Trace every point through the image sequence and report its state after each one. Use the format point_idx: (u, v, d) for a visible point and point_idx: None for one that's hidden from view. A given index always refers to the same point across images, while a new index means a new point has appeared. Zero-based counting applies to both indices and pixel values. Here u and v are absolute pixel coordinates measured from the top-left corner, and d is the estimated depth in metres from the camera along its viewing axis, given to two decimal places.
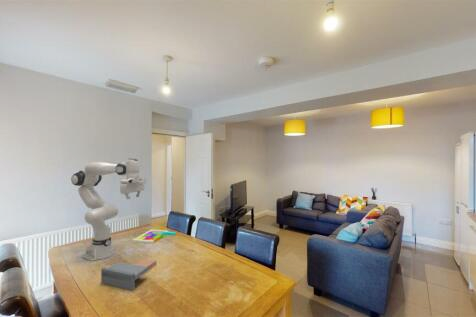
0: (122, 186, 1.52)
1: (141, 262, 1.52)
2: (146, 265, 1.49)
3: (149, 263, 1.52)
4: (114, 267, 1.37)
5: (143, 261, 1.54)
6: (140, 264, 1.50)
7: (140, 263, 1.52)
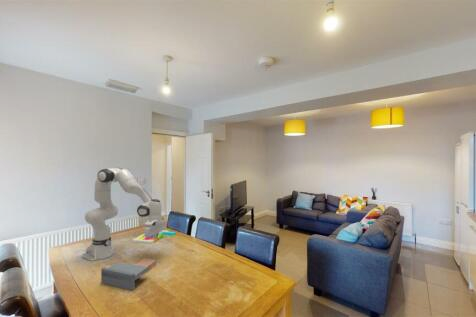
0: (146, 229, 1.54)
1: (141, 262, 1.52)
2: (146, 265, 1.49)
3: (149, 263, 1.52)
4: (114, 267, 1.37)
5: (143, 261, 1.54)
6: (140, 264, 1.50)
7: (140, 263, 1.51)
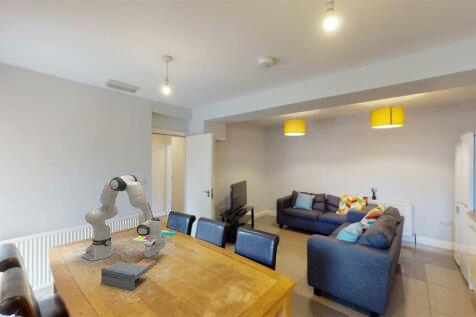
0: (146, 249, 1.54)
1: (141, 262, 1.52)
2: (146, 265, 1.49)
3: (149, 263, 1.52)
4: (114, 267, 1.37)
5: (143, 261, 1.54)
6: (140, 264, 1.50)
7: (140, 263, 1.51)
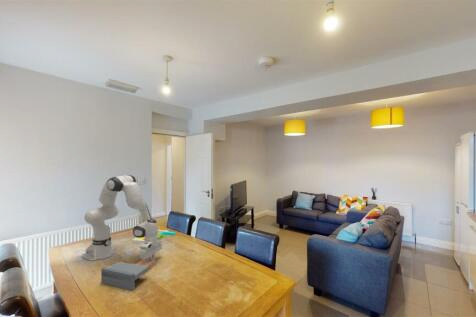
0: (141, 252, 1.50)
1: (140, 263, 1.52)
2: (146, 265, 1.48)
3: (149, 263, 1.51)
4: (114, 267, 1.37)
5: (142, 261, 1.54)
6: (140, 264, 1.49)
7: (139, 263, 1.51)
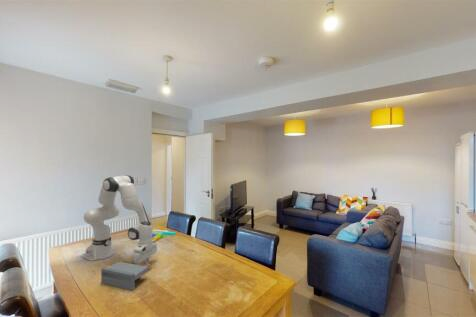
0: (135, 255, 1.44)
1: None
2: None
3: None
4: (114, 267, 1.37)
5: None
6: None
7: None
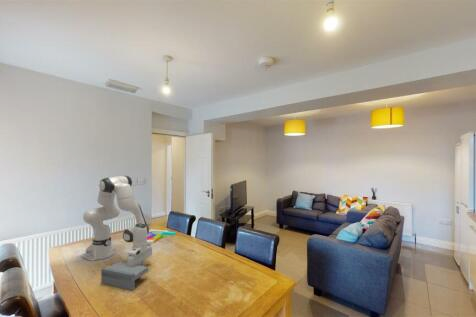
0: (129, 259, 1.39)
1: None
2: None
3: None
4: (114, 267, 1.37)
5: None
6: None
7: None
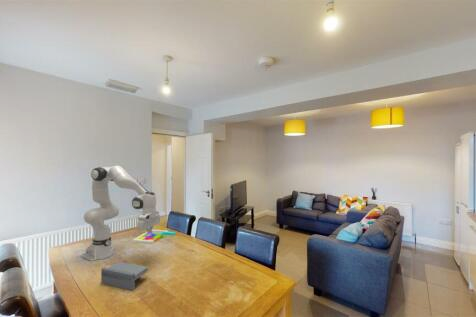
0: (139, 222, 1.48)
1: None
2: None
3: None
4: (114, 267, 1.37)
5: None
6: None
7: None
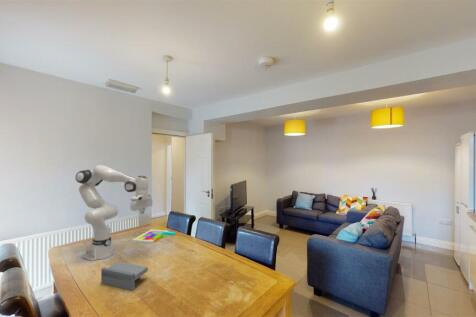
0: (132, 203, 1.60)
1: None
2: None
3: None
4: (114, 267, 1.37)
5: None
6: None
7: None
